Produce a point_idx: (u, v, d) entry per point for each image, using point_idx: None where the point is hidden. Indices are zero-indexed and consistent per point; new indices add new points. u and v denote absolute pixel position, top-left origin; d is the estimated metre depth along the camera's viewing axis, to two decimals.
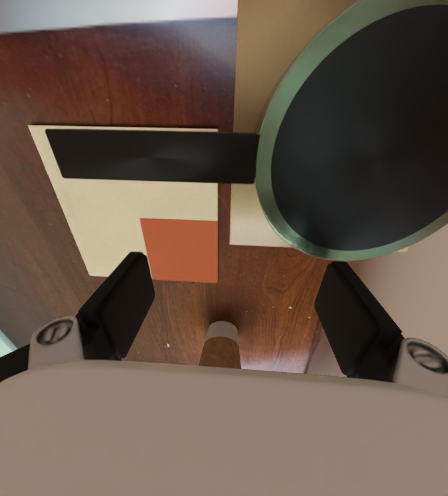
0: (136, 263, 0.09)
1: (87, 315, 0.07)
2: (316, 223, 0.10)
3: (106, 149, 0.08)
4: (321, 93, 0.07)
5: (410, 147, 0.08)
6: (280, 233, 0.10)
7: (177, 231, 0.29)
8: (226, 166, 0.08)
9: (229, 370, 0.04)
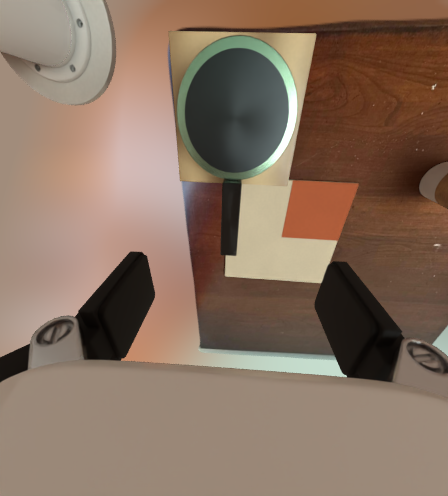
0: (136, 263, 0.09)
1: (87, 315, 0.07)
2: (267, 143, 0.17)
3: (226, 237, 0.21)
4: (210, 154, 0.18)
5: (230, 102, 0.16)
6: (271, 164, 0.18)
7: (296, 213, 0.37)
8: (234, 195, 0.19)
9: (229, 370, 0.04)
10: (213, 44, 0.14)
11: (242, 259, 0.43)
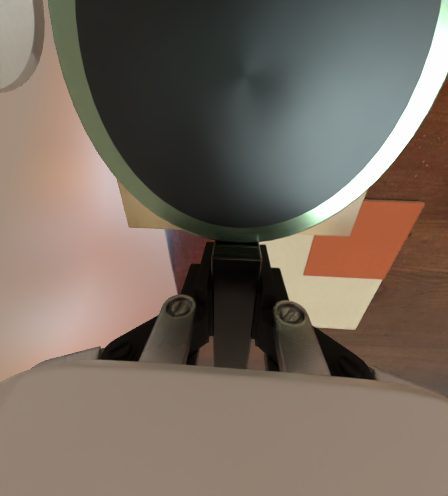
0: None
1: (200, 294, 0.08)
2: (337, 154, 0.06)
3: (226, 354, 0.10)
4: (175, 184, 0.07)
5: (227, 18, 0.05)
6: (342, 207, 0.07)
7: (326, 244, 0.26)
8: (241, 283, 0.07)
9: (229, 370, 0.04)
10: None
11: None
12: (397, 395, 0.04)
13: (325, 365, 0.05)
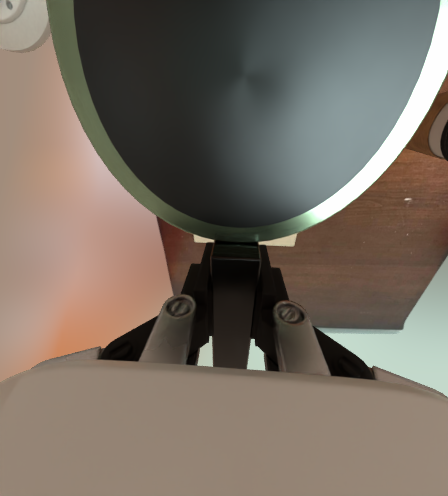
0: None
1: (200, 294, 0.08)
2: (336, 154, 0.06)
3: (225, 354, 0.10)
4: (174, 184, 0.07)
5: (226, 17, 0.05)
6: (341, 206, 0.07)
7: None
8: (240, 283, 0.07)
9: (229, 370, 0.04)
10: None
11: None
12: (397, 395, 0.04)
13: (325, 365, 0.05)
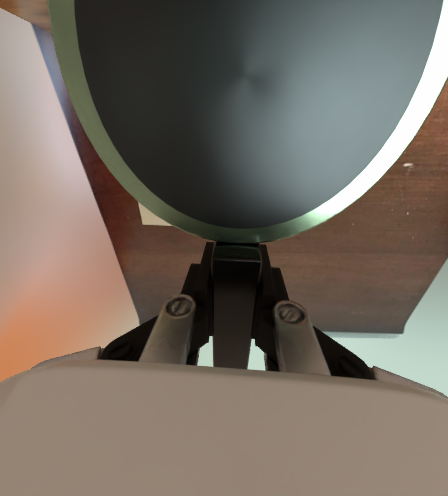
0: None
1: (200, 294, 0.08)
2: (338, 155, 0.06)
3: (225, 355, 0.10)
4: (175, 185, 0.07)
5: (228, 17, 0.05)
6: (342, 207, 0.07)
7: None
8: (241, 284, 0.07)
9: (229, 370, 0.04)
10: None
11: None
12: (397, 395, 0.04)
13: (325, 365, 0.05)
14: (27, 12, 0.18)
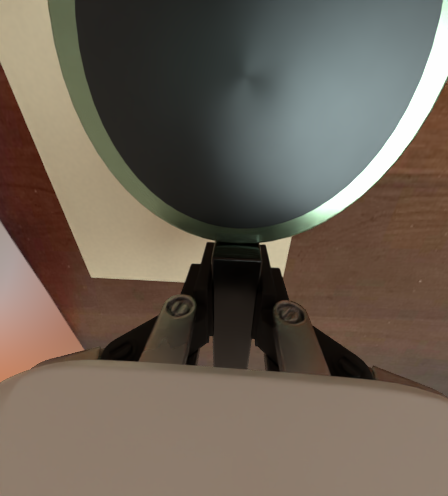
0: None
1: (200, 294, 0.08)
2: (338, 155, 0.06)
3: (225, 355, 0.10)
4: (176, 185, 0.07)
5: (228, 18, 0.05)
6: (342, 207, 0.07)
7: None
8: (241, 284, 0.07)
9: (229, 370, 0.04)
10: None
11: (110, 242, 0.21)
12: (397, 395, 0.04)
13: (325, 365, 0.05)
14: None
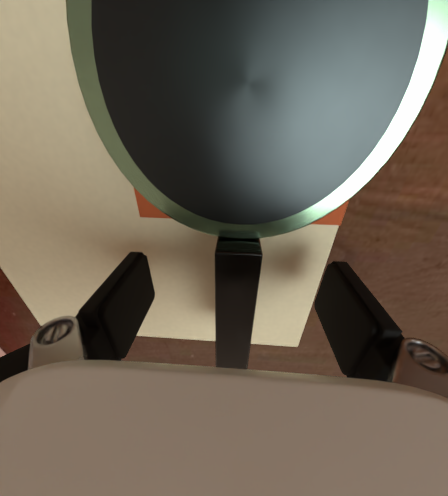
0: (136, 263, 0.09)
1: (87, 315, 0.07)
2: (333, 155, 0.06)
3: (227, 347, 0.10)
4: (181, 183, 0.07)
5: (231, 30, 0.05)
6: (338, 204, 0.07)
7: None
8: (243, 277, 0.08)
9: (229, 370, 0.04)
10: None
11: (61, 290, 0.15)
12: (397, 395, 0.04)
13: None
14: None
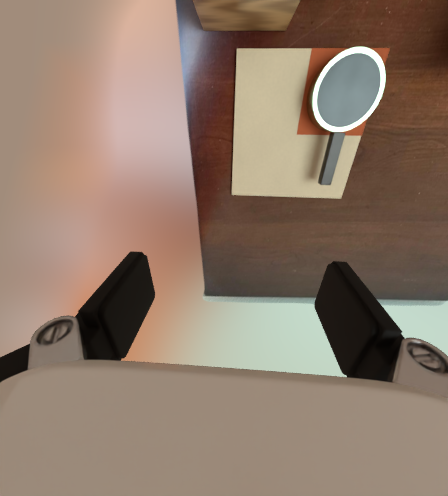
0: (136, 263, 0.09)
1: (87, 315, 0.07)
2: (363, 108, 0.30)
3: (327, 171, 0.34)
4: (327, 115, 0.31)
5: (346, 83, 0.29)
6: (363, 120, 0.31)
7: None
8: (339, 140, 0.32)
9: (229, 370, 0.04)
10: (344, 51, 0.27)
11: (251, 170, 0.39)
12: (397, 395, 0.04)
13: None
14: (209, 5, 0.23)
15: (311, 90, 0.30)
